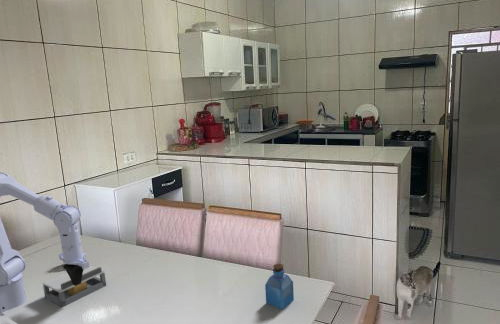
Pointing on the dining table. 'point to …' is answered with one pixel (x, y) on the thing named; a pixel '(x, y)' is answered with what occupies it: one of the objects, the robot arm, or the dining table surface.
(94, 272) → the lid
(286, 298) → the perfume bottle
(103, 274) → the case
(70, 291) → the block
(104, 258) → the dining table surface
